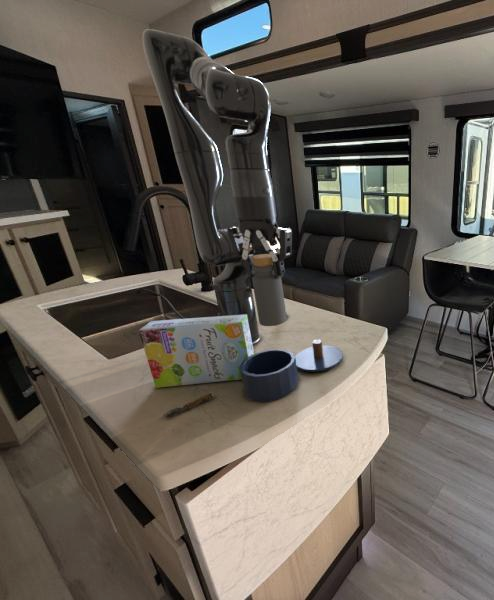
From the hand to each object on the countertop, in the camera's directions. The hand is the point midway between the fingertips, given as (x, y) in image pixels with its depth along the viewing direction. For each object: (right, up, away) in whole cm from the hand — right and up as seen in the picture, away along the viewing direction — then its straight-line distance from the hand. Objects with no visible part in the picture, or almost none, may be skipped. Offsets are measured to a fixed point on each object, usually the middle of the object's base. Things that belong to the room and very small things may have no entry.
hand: (266, 276), depth 68 cm
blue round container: (-1, -25, +6) cm, 26 cm away
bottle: (0, -10, +4) cm, 11 cm away
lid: (+7, -21, +16) cm, 27 cm away
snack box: (-18, -24, +9) cm, 31 cm away
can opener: (-16, -28, -1) cm, 32 cm away
